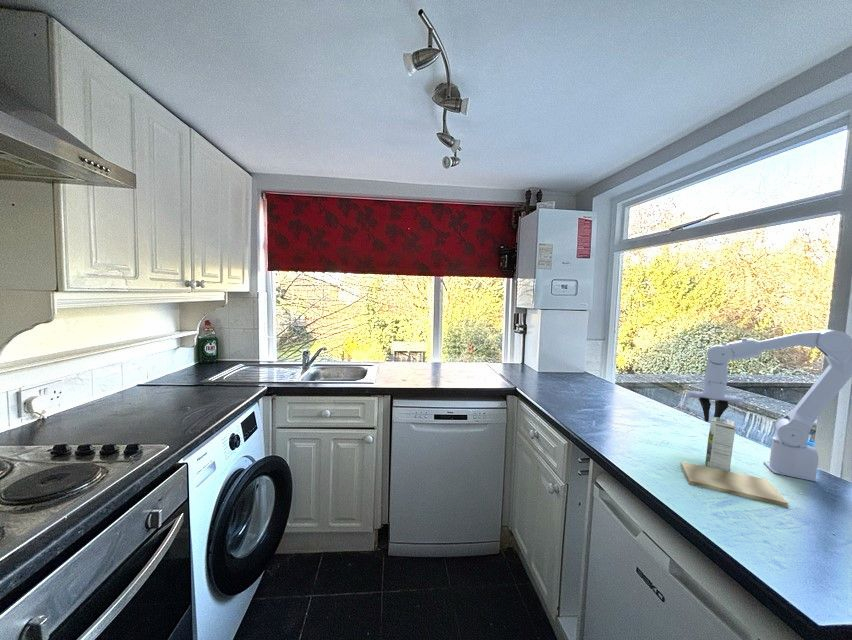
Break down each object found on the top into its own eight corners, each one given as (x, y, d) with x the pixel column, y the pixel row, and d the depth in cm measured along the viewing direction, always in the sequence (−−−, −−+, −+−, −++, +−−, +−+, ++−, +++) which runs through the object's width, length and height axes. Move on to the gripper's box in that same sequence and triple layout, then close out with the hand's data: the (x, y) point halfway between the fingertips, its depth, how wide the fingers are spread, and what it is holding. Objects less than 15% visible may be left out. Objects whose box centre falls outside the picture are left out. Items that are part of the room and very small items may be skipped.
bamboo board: (766, 482, 99) (767, 479, 99) (787, 506, 88) (788, 503, 88) (680, 464, 108) (680, 461, 108) (689, 483, 97) (689, 480, 97)
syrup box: (705, 460, 112) (710, 415, 111) (729, 466, 108) (735, 420, 107) (704, 466, 108) (710, 420, 106) (730, 473, 104) (736, 425, 103)
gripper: (739, 382, 117) (735, 422, 118) (686, 375, 124) (682, 413, 125) (747, 387, 111) (742, 429, 112) (690, 380, 117) (686, 419, 118)
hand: (710, 421), depth 118 cm, fingers closed
